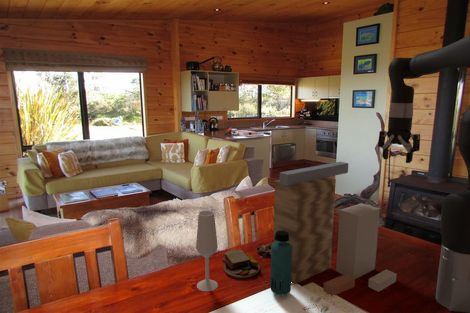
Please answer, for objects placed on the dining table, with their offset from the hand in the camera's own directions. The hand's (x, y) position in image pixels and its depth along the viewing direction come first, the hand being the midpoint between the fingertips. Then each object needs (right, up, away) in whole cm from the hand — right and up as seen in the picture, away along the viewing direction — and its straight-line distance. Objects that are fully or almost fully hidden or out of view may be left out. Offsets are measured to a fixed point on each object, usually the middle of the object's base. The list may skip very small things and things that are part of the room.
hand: (396, 160), depth 123 cm
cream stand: (-17, -38, -6) cm, 42 cm away
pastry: (-44, -36, +7) cm, 58 cm away
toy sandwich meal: (-57, -38, -6) cm, 69 cm away
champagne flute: (-67, -39, -16) cm, 80 cm away
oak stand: (-36, -37, -6) cm, 52 cm away
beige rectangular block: (-12, -39, -15) cm, 44 cm away
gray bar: (-31, -5, -9) cm, 33 cm away
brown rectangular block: (-26, -40, -17) cm, 51 cm away
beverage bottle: (-45, -40, -20) cm, 64 cm away
